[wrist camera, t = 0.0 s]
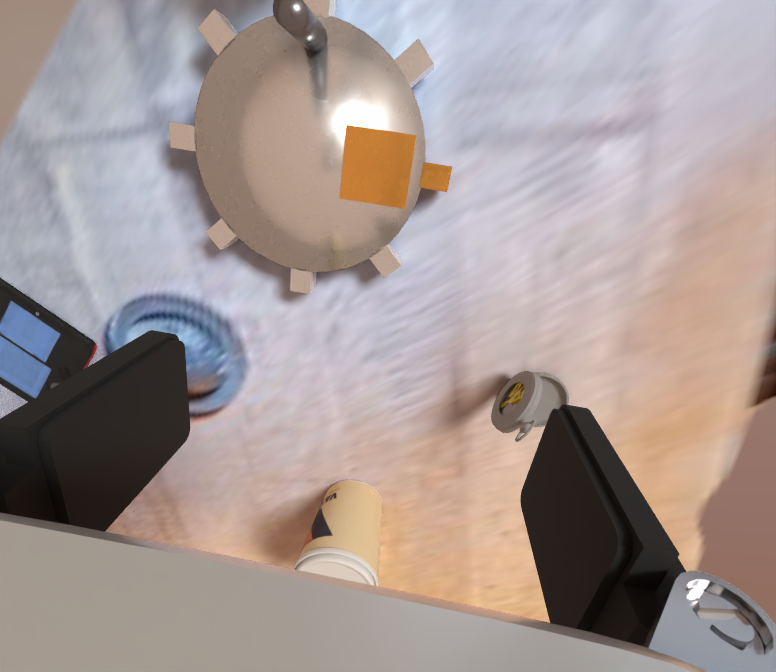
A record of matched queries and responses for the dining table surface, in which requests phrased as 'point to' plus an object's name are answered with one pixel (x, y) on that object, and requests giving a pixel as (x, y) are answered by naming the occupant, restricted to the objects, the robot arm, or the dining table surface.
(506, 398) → the pocket watch
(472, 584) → the dining table surface
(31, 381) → the game console
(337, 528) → the coffee cup
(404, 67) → the sprocket
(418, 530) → the dining table surface
